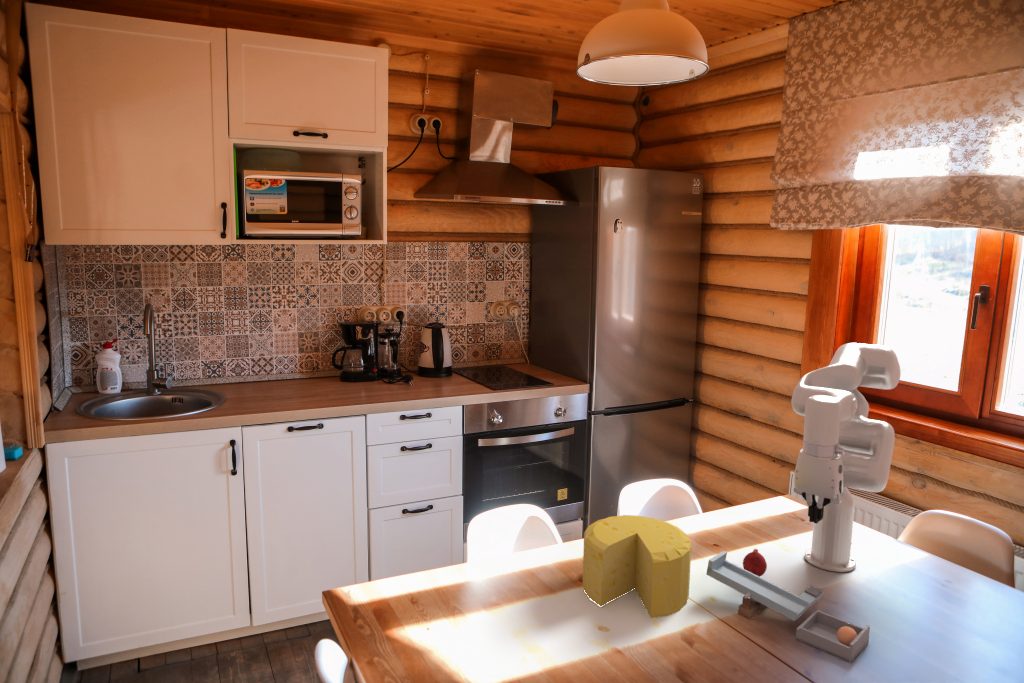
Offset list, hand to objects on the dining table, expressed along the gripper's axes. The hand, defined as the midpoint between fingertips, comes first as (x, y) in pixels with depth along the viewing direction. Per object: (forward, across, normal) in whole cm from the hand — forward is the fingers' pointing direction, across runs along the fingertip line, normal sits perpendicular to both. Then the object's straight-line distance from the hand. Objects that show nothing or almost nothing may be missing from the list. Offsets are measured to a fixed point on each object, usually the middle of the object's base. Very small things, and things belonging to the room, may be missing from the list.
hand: (815, 520), depth 162 cm
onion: (+20, +14, +1) cm, 25 cm away
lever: (+15, +7, +11) cm, 20 cm away
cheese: (+19, +32, +28) cm, 47 cm away
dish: (+19, -11, +16) cm, 27 cm away
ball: (+16, -12, +15) cm, 25 cm away
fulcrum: (+19, +7, +15) cm, 26 cm away
